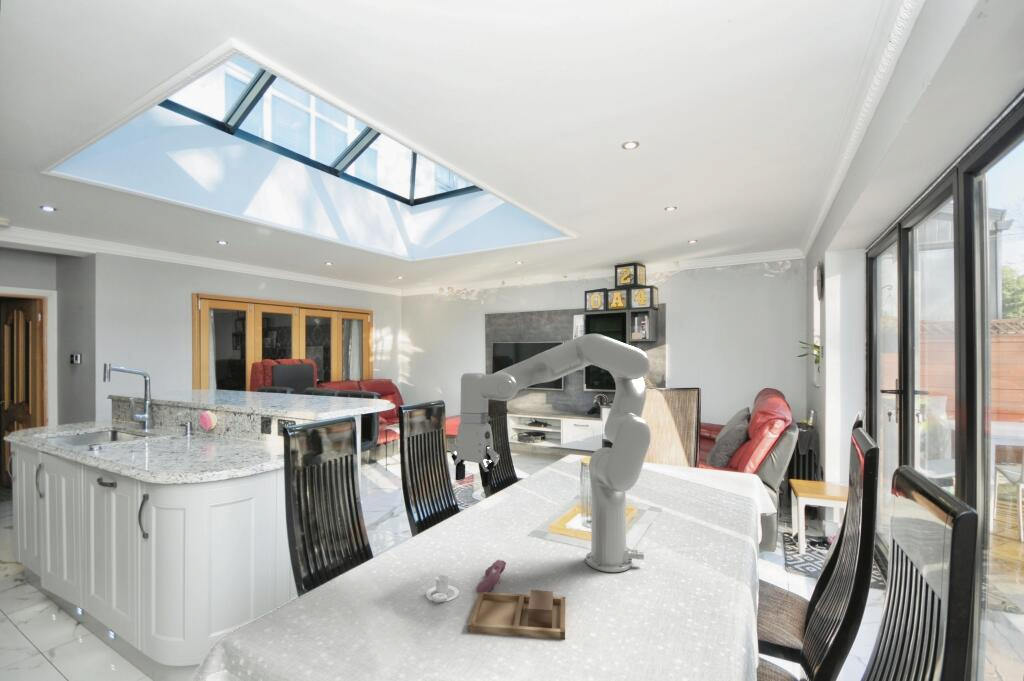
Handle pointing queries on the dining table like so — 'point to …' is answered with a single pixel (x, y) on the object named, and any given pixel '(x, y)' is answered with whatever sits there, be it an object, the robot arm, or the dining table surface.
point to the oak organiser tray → (513, 616)
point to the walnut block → (540, 609)
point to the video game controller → (492, 576)
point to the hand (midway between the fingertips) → (473, 482)
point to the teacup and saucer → (442, 590)
